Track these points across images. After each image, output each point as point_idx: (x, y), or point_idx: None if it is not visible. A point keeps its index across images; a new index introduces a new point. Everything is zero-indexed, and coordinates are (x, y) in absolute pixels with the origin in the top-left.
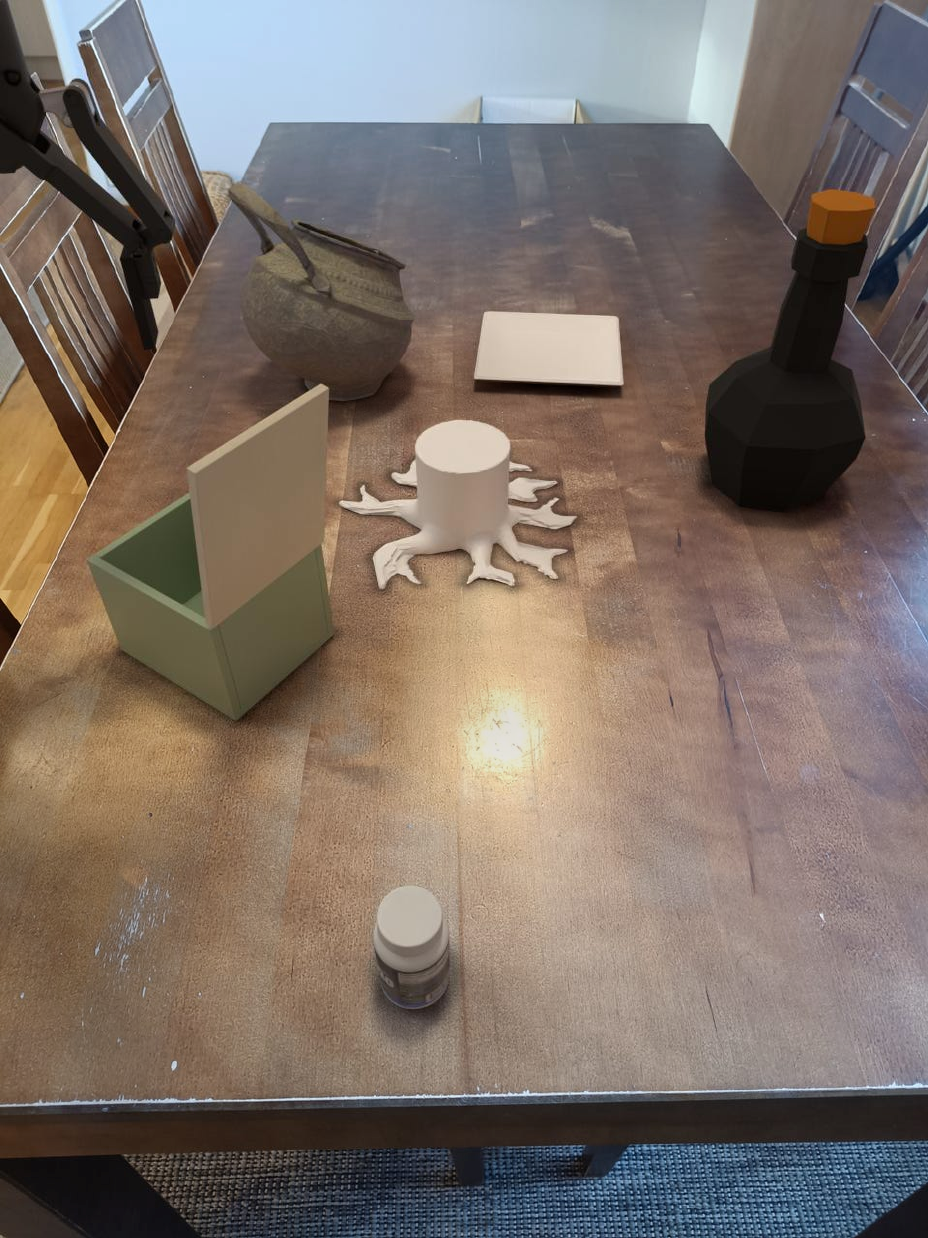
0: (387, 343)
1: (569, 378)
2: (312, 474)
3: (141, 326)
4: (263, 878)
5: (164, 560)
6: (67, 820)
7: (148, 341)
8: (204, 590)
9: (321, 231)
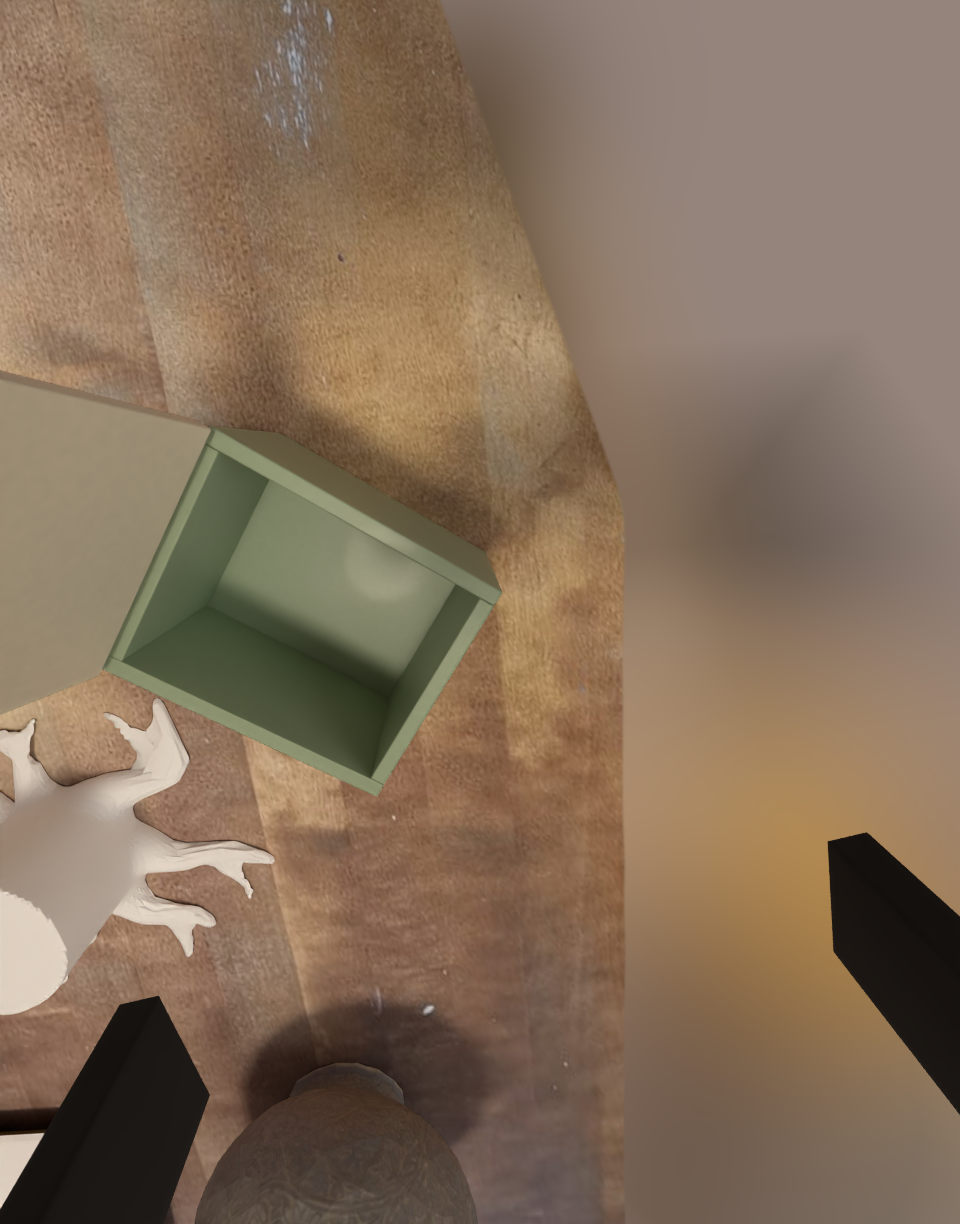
0: (213, 1182)
1: (4, 1146)
2: None
3: (88, 1101)
4: (146, 154)
5: (424, 662)
6: (450, 241)
7: (115, 1032)
8: (137, 407)
9: None
